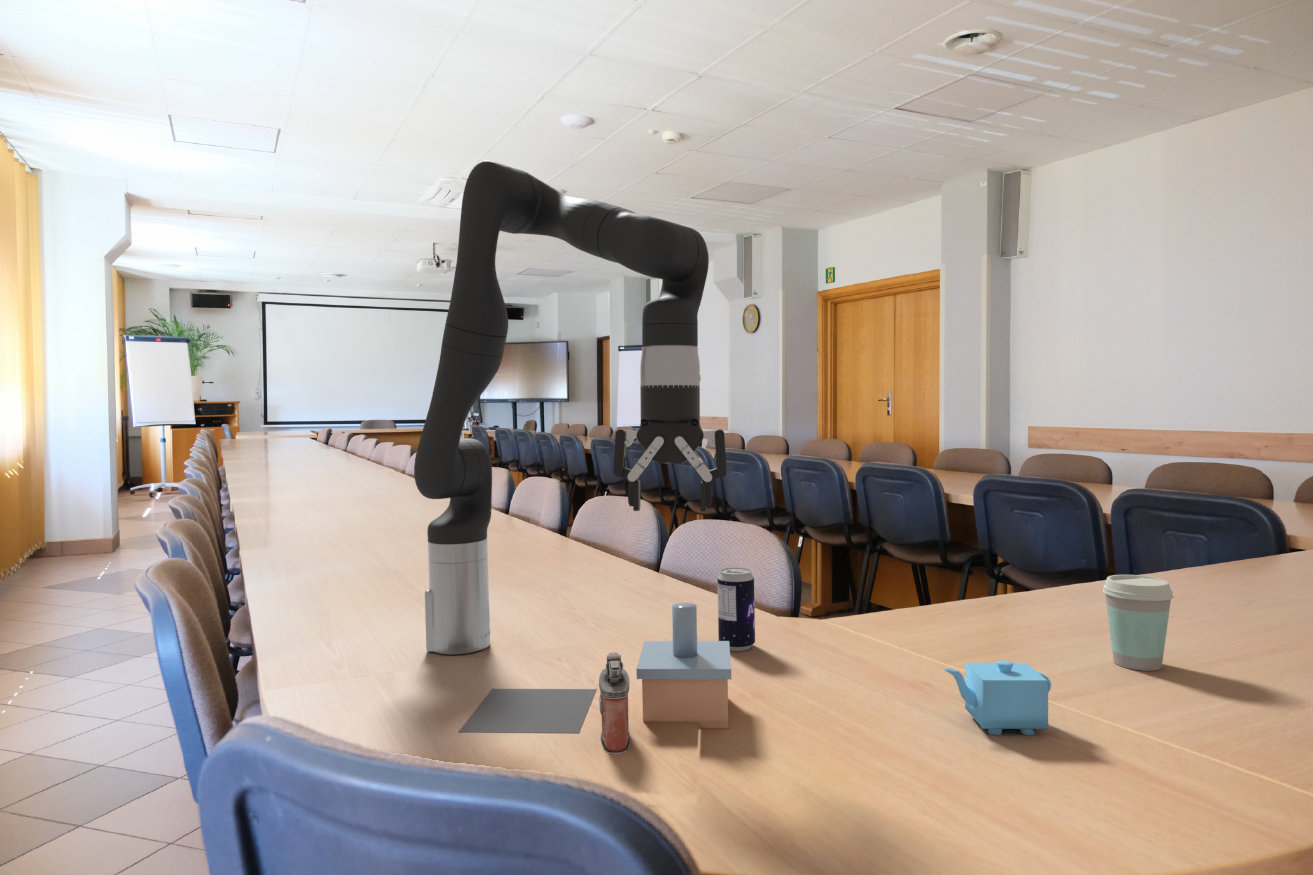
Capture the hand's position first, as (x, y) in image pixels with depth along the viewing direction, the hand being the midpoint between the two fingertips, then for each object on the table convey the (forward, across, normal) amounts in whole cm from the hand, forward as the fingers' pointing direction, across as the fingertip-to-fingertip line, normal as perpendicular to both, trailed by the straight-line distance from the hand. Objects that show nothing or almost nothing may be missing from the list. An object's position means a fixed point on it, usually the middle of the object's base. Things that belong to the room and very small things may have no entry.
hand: (670, 510), depth 100 cm
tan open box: (+24, +2, -4) cm, 25 cm away
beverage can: (+25, +9, +22) cm, 35 cm away
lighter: (+25, -5, -14) cm, 29 cm away
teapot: (+24, +38, -7) cm, 46 cm away
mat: (+25, -17, -6) cm, 30 cm away
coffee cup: (+24, +65, +15) cm, 71 cm away
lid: (+18, +2, -4) cm, 19 cm away
